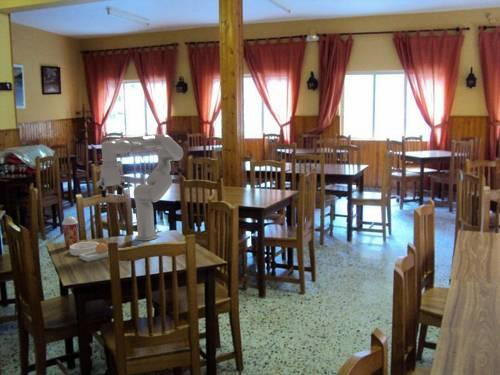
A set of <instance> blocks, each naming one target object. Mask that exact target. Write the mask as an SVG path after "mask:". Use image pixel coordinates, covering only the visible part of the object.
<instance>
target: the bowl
mask: <svg viewBox="0 0 500 375" xmlns="http://www.w3.org/2000/svg"><path fill="white" fill-rule="evenodd" d="M99 243H100V242H96V241H80V242H78V243H75V244H72V245H70V248H69V254H70V255H72V256H79V254H83V253H87V252H92V251H96V246H97V245H98V244H99ZM79 257H80V256H79Z"/></svg>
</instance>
